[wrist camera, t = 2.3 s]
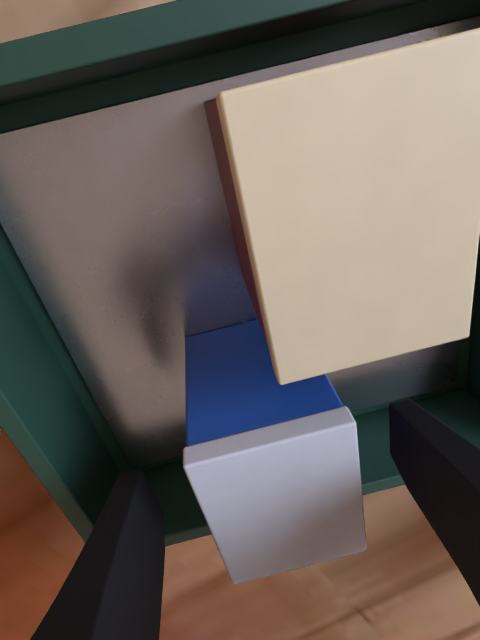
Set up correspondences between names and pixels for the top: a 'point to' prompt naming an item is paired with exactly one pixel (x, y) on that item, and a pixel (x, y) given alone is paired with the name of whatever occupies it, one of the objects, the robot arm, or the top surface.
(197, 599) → the top surface
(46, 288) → the steel plate
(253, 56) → the tray
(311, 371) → the block
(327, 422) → the block
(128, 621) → the robot arm
